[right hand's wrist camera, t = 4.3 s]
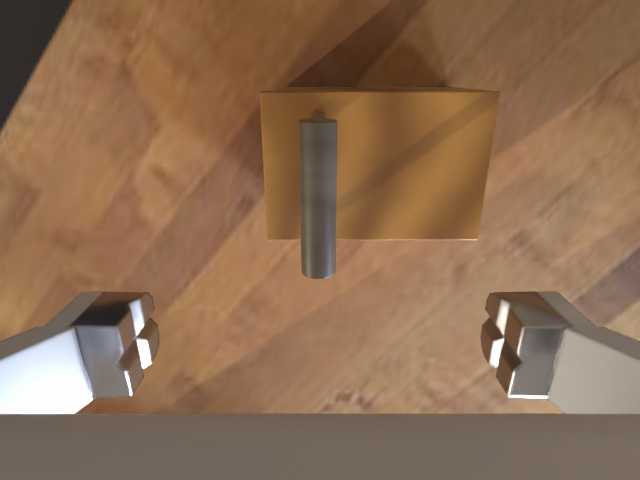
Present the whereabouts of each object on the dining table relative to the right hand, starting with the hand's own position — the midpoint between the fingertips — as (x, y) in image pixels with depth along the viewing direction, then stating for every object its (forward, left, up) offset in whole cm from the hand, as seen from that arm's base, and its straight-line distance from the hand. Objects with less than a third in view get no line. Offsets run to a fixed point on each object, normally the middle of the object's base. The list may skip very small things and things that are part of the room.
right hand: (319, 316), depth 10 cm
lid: (-1, -3, -18) cm, 18 cm away
